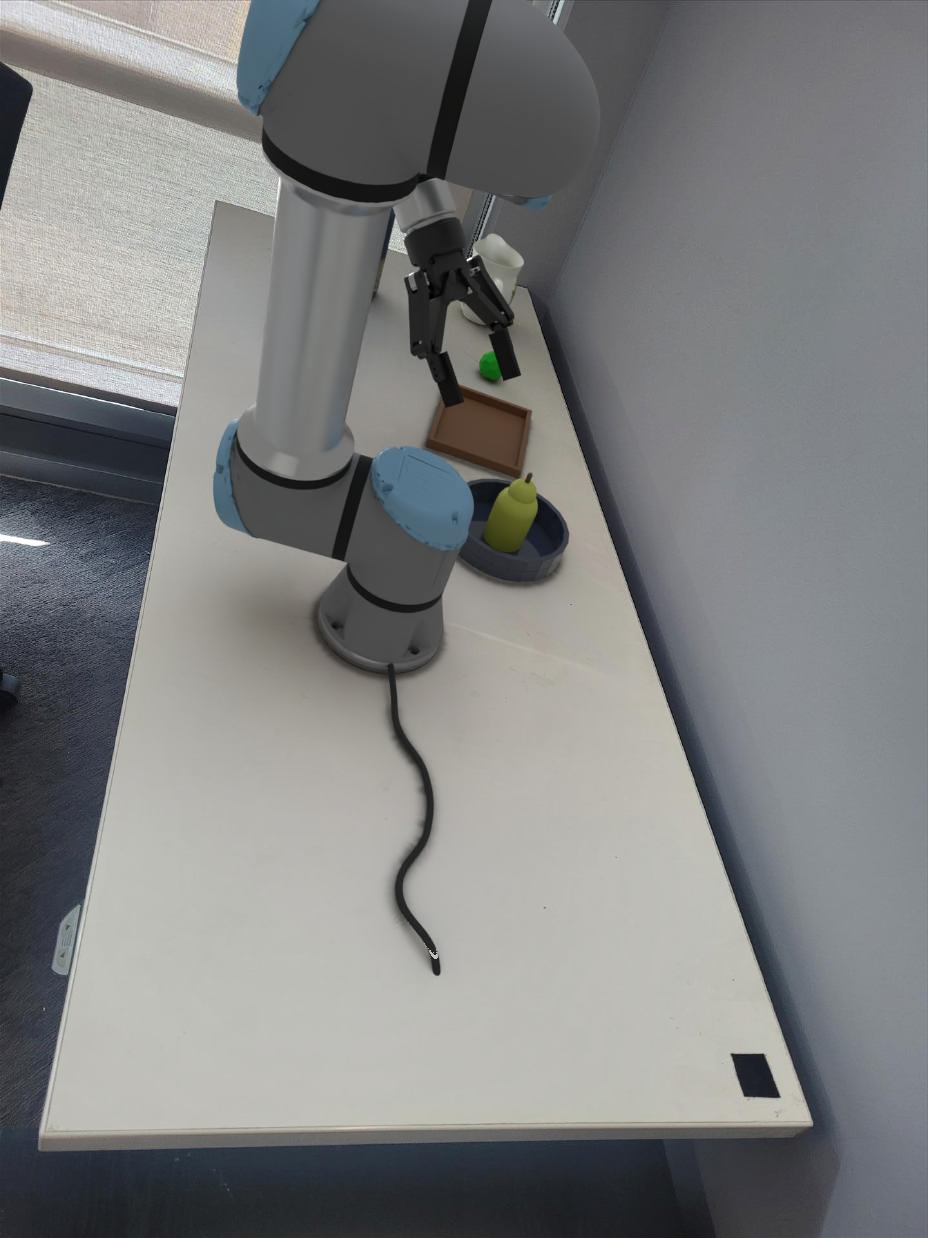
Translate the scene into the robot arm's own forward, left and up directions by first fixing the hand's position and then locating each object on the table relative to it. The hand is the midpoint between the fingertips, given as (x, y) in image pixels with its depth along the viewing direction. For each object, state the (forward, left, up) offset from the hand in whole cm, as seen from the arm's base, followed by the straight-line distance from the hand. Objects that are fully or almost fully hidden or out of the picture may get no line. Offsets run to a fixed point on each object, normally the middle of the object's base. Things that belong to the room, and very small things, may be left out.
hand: (485, 391), depth 109 cm
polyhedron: (+41, -1, -19) cm, 45 cm away
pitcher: (+63, +4, -19) cm, 66 cm away
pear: (-5, -9, -18) cm, 21 cm away
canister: (+56, +29, -19) cm, 66 cm away
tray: (+21, -2, -19) cm, 28 cm away
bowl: (-5, -9, -19) cm, 22 cm away
